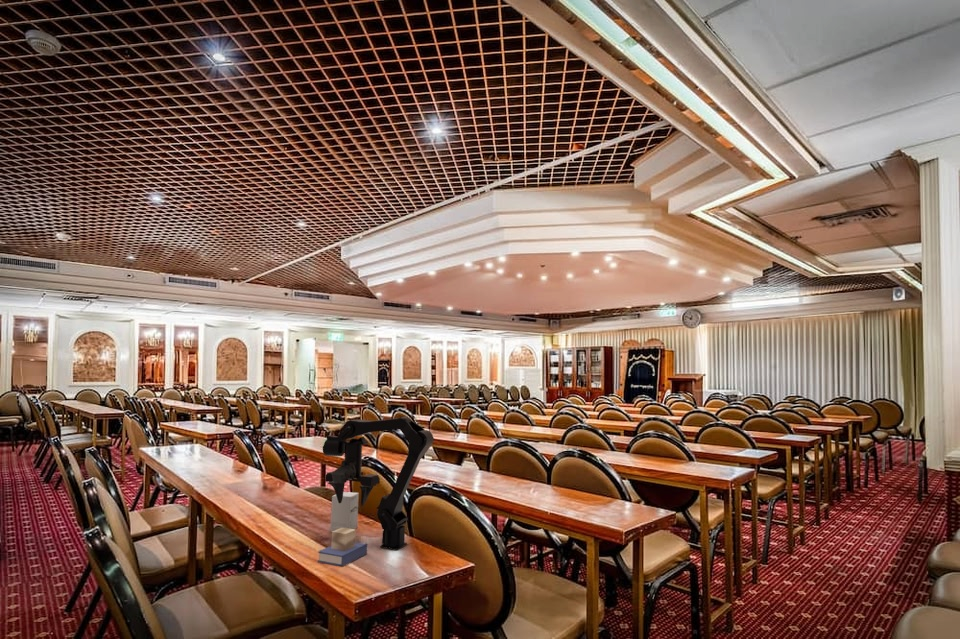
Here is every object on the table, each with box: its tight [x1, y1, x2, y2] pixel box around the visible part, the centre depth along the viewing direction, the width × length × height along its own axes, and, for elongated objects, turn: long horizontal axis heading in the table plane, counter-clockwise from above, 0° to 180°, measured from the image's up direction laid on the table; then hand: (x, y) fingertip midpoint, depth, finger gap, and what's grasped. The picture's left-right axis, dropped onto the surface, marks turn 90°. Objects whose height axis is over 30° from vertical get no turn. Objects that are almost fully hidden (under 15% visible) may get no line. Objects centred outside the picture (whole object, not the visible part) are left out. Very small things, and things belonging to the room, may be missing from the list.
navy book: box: [317, 541, 368, 567], centre depth 156 cm, size 9×12×3 cm
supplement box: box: [329, 491, 360, 533], centre depth 186 cm, size 7×7×13 cm
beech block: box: [330, 528, 357, 551], centre depth 157 cm, size 5×5×5 cm
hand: (351, 504), depth 173 cm, fingers open, 9 cm apart
